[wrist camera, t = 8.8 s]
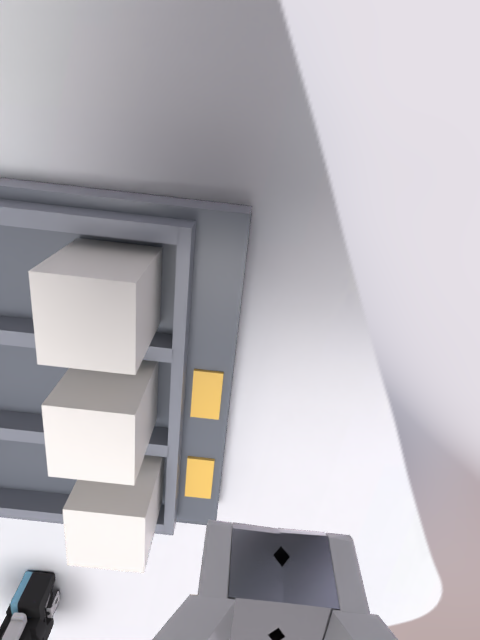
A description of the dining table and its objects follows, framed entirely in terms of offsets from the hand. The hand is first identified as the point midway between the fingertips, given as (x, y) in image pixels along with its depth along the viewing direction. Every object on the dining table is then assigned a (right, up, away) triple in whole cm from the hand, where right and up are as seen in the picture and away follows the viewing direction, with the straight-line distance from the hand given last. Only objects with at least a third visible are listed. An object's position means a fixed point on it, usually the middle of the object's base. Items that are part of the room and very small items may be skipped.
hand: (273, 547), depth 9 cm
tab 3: (-7, -4, +17) cm, 19 cm away
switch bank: (-10, +2, +17) cm, 20 cm away
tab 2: (-7, +1, +15) cm, 17 cm away
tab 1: (-7, +7, +12) cm, 16 cm away
